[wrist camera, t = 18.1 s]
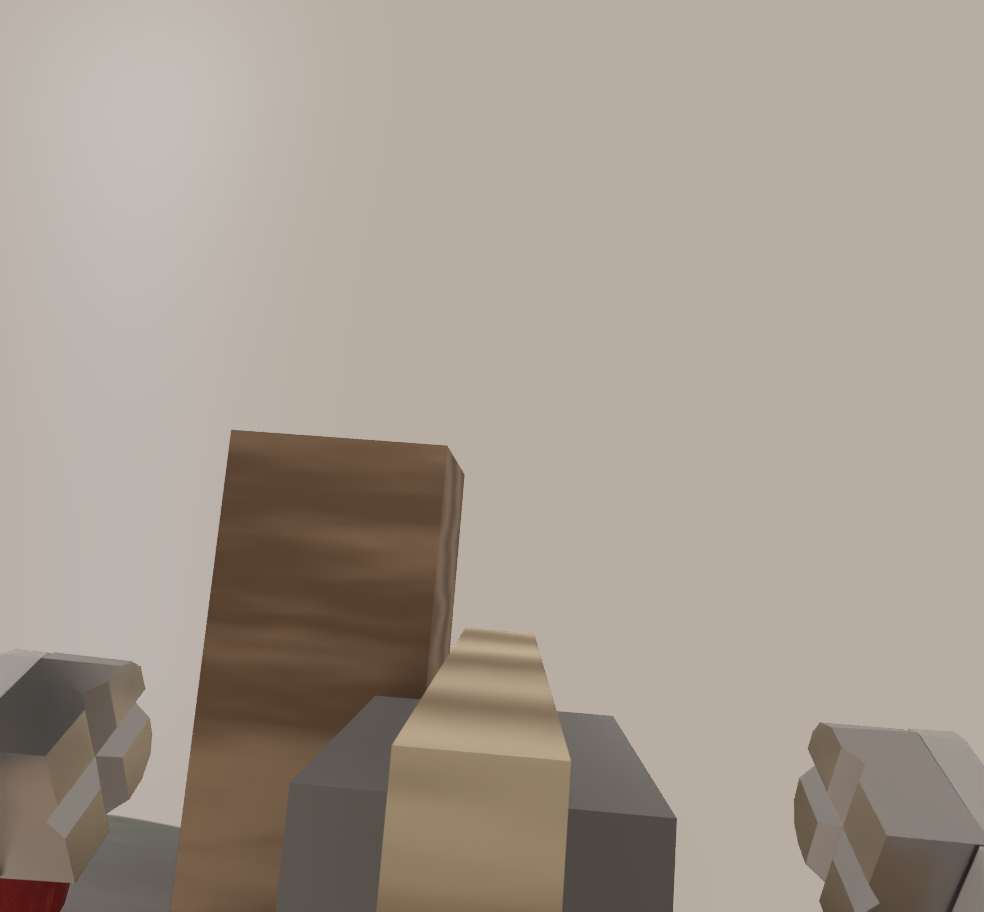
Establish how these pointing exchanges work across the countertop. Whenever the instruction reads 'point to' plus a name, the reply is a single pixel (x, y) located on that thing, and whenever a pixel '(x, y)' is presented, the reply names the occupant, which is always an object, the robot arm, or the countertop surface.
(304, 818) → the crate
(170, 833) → the countertop surface
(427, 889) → the bar
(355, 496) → the pedestal
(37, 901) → the red apple
